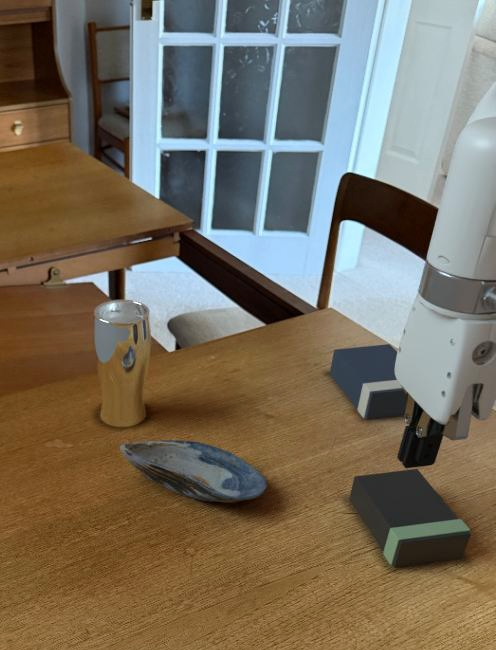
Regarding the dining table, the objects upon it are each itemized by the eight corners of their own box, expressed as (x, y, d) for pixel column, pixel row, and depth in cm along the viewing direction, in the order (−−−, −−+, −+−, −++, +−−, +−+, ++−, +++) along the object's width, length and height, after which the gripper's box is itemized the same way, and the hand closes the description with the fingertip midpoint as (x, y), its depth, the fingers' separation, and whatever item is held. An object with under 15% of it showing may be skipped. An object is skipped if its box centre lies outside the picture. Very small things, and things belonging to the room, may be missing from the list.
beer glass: (156, 409, 98) (158, 302, 89) (140, 438, 93) (141, 327, 84) (106, 401, 100) (103, 295, 90) (88, 429, 95) (83, 319, 85)
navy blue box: (390, 343, 101) (434, 386, 92) (383, 373, 104) (424, 418, 95) (333, 348, 101) (371, 392, 91) (327, 379, 104) (363, 425, 94)
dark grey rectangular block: (418, 467, 80) (473, 532, 72) (409, 498, 83) (461, 564, 75) (353, 475, 80) (400, 542, 71) (346, 506, 82) (390, 573, 74)
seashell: (135, 538, 79) (135, 502, 75) (117, 469, 88) (116, 434, 85) (274, 522, 80) (280, 485, 77) (242, 455, 90) (246, 421, 87)
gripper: (564, 319, 57) (491, 504, 69) (463, 249, 68) (415, 418, 80) (473, 328, 56) (415, 514, 68) (386, 255, 67) (348, 425, 79)
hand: (415, 461), depth 74 cm, fingers closed
